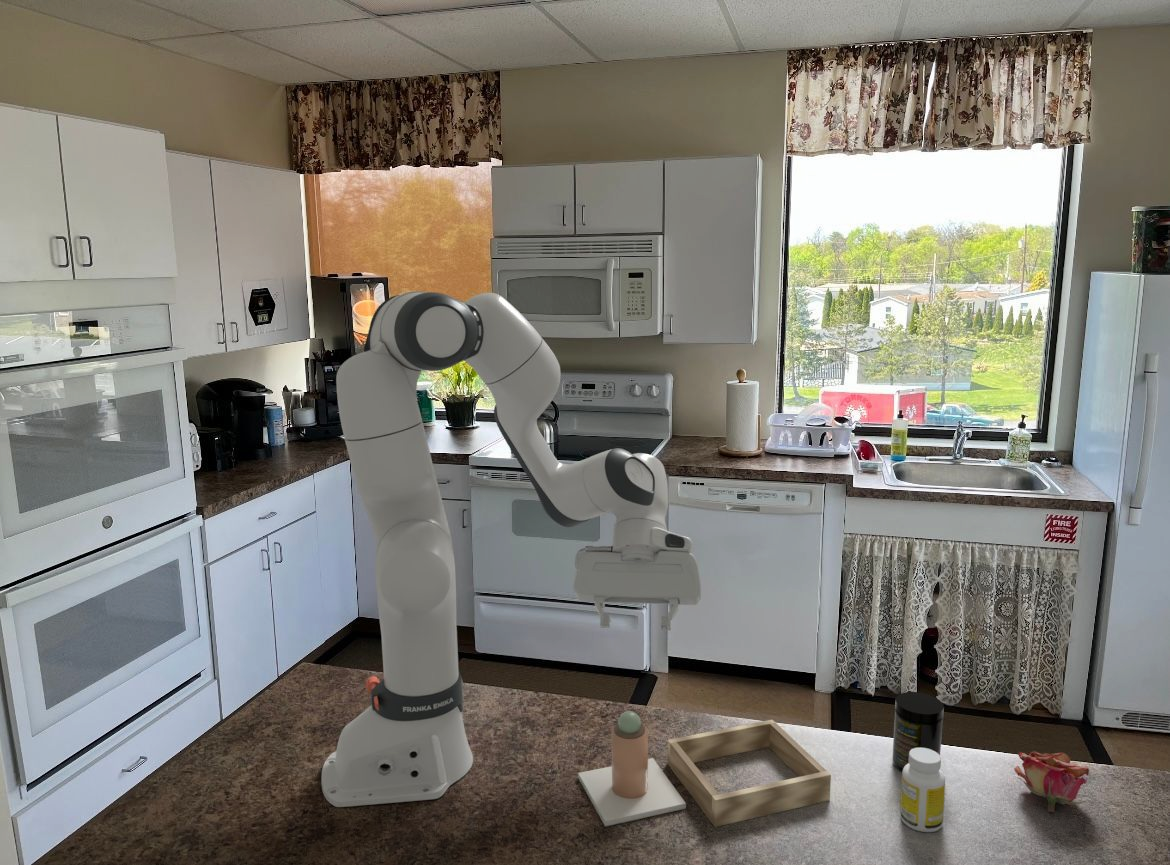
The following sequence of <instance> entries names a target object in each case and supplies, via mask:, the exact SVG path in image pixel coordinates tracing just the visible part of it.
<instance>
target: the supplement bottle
mask: <svg viewBox="0 0 1170 865" xmlns="http://www.w3.org/2000/svg"><path fill="white" fill-rule="evenodd" d="M941 763H942V758H941V754H940V755H939V754H938V753H937V752H935V751H933V750H931V749H927V748H914V749H911V750H910V752H909V763H908V764H907V765H905V767H904V768H903V772H902V774H901V776H902V777H901V793H900V795H901V796H900V811H899V812H900V813H899V814H900V819H901V821H902V823H904V824H905V825H906V826H907V827H909V828H910V829H912V830H914V831H918V832H923V833H933V832H937V831H939V830H940V829H941V828H942V826H943V822H944V810H945V808H944V807H945V795H946V794H945V793H946V792H945V791H946V777H945V774H944V772H943V771H942V769H941V766H942V764H941Z"/></svg>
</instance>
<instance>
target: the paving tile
mask: <svg viewBox="0 0 1170 865" xmlns="http://www.w3.org/2000/svg"><path fill="white" fill-rule="evenodd" d="M577 775H578V776H577V778H578V781H579V782H580V784H581V786H582V787H583V789H584V791H585V793H586V795H587V796H588V798H589V800H590V801H591V804H592V805H593V807H594V809H595V811H596V813H597V815H598V816H599V818H600V820H601V822H602V823H603V825H604V827H610V826H613V825H619V824H622V823H627V822H632V821H636V820H640V819H644V818H648V817H653V816H658V815H663V814H667V813H672V812H675V811H680V810H685V809H687V802H686V801H685V800H684V799H683V797H682V796H681V795H680V793H679V792H678V790H677V789H676V788H675V786H674V785H673V783H672V782H671V781H670V780H669V778H668V776H667V775H666V774H665V773H664V771H663V770H662V768H661V767H660V765H659V764H658V762H656V760H655V759H654V758H653V757H650V758H648V791H647V792H646V794H644V795H643V796H641V797H638V798H633V799H628V798H623V797H620V796H618V795H616V794H615V793H614V792H613V790H612V765H611V766H610V765H609V766H606V767H599V768H597V769H596V768H595V769H591V770H587V771H586V770H585V771H582V772H581V771H579V772H578V773H577Z"/></svg>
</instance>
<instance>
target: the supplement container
mask: <svg viewBox="0 0 1170 865" xmlns="http://www.w3.org/2000/svg"><path fill="white" fill-rule="evenodd" d="M894 703H895V704H894V705H895V706H894V723H893V741H892V742H893V744H892V763H893V764H894V766H895V767H896V768H897V769H898V770H899V771H900V772H902V773H903V768H904V767H905V765H907V764H908V763H909V752H910V750H911V749H914V748H927V749H931V750H933V751H935V752H937V753H938V754H939V755H940V756H941V751H942V750H941V748H942V733H943V720H944V709H945V706H944V703H943V702H942V701H941V700H940V699H938V698H937V697H935V696H933V695H930V694H927V693H924V692H923V693H922V692H919V691H918V692H917V691H907V692H906V691H905V692H902V693H899V694H898V695H896V697H895V702H894Z"/></svg>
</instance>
